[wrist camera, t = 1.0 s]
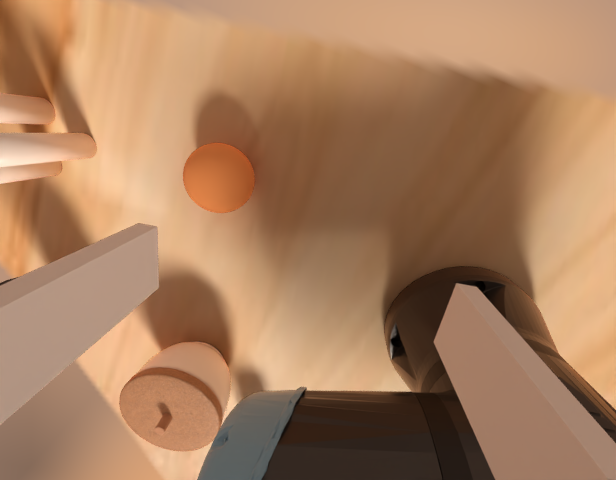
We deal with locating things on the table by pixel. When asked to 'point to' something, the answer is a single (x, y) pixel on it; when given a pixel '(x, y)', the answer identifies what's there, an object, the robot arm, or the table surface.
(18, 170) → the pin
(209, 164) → the ball
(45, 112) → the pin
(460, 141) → the table surface
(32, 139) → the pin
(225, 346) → the table surface
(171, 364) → the lidded jar
